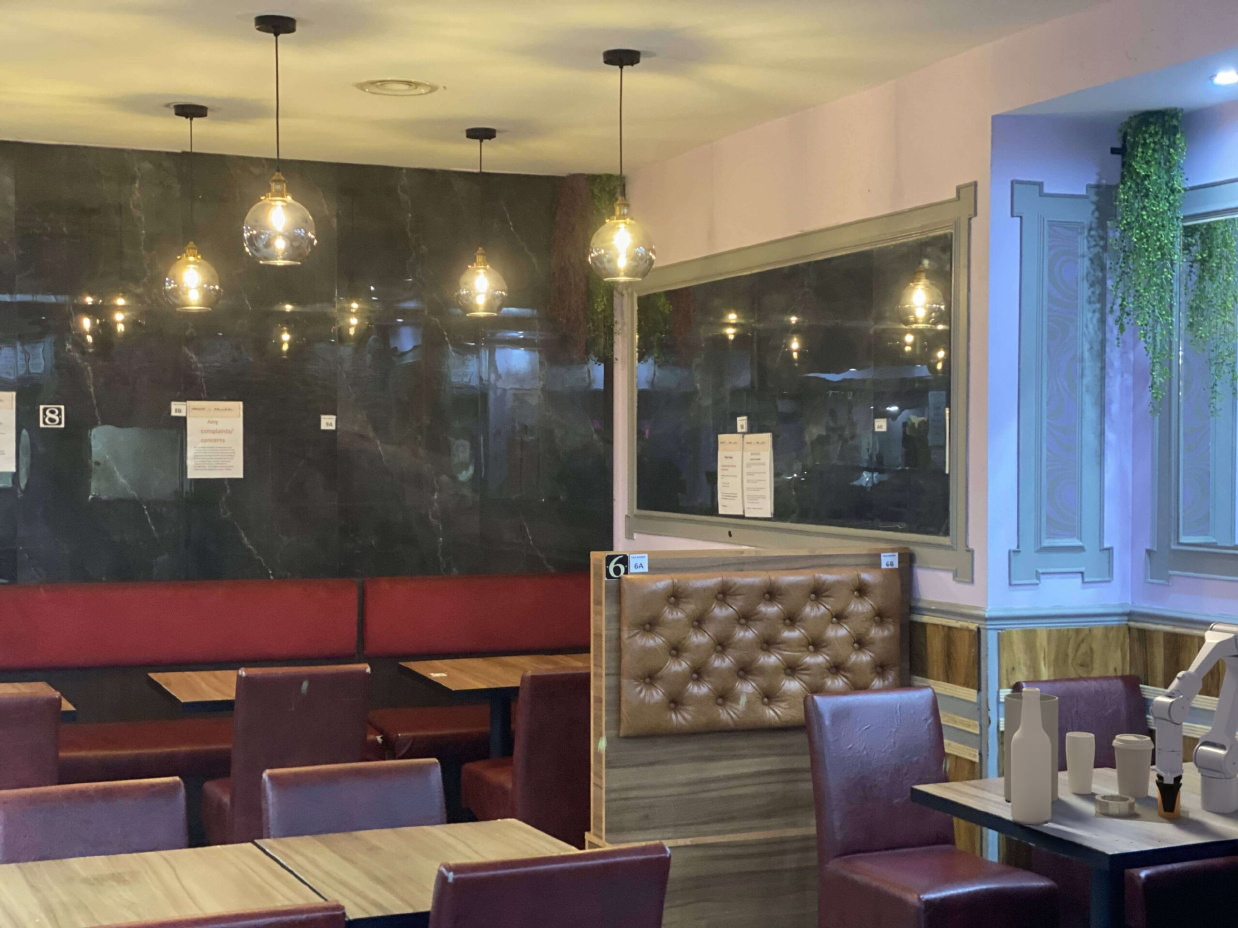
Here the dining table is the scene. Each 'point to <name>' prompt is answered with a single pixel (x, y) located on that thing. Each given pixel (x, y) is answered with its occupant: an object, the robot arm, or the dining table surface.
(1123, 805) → the beige faceted ring
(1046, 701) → the cylinder vase
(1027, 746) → the alcohol
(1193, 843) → the dining table surface
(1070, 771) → the drinking glass
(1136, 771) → the coffee cup
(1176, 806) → the orange block
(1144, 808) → the board
